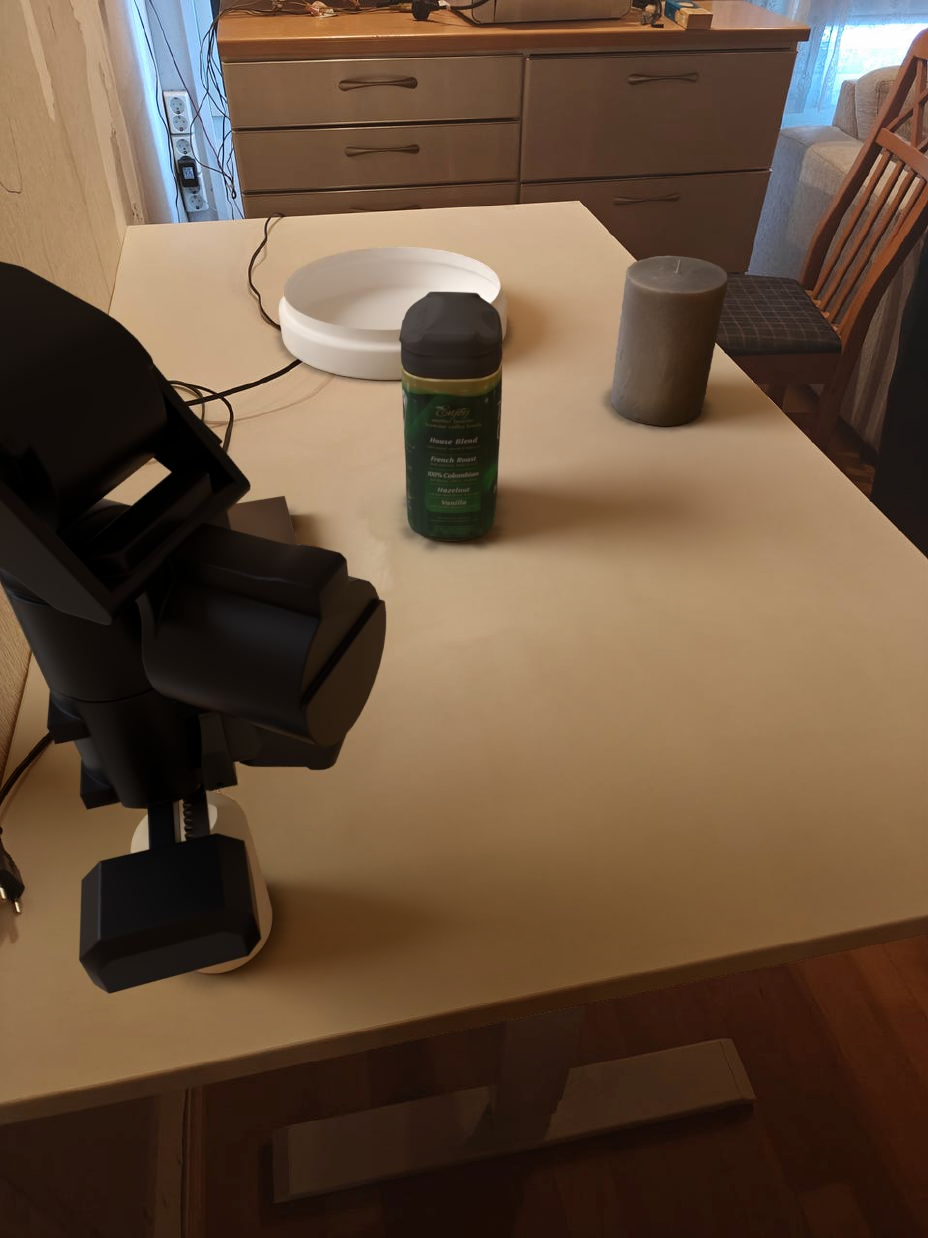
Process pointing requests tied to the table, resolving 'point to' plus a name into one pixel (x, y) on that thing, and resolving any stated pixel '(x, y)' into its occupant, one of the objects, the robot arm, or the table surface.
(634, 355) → the pillar candle
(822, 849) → the table surface
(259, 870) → the candle
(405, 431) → the coffee jar
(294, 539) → the dark wooden base block
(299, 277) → the round white dish
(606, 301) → the table surface
